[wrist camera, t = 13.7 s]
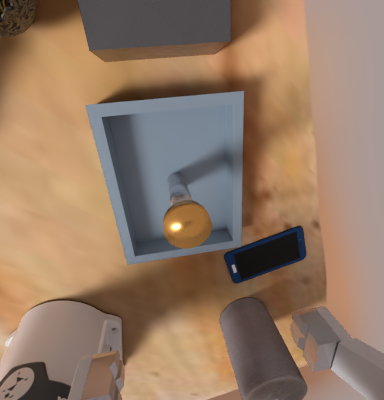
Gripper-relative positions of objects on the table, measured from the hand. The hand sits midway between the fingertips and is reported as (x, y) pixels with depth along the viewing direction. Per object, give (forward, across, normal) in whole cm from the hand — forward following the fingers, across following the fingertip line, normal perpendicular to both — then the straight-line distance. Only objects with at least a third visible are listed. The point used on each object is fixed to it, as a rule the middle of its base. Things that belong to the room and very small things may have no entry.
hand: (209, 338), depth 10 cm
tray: (+22, 0, +1) cm, 22 cm away
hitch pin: (+21, 0, +1) cm, 21 cm away
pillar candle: (+23, +10, -29) cm, 39 cm away
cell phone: (+23, +14, -15) cm, 31 cm away
